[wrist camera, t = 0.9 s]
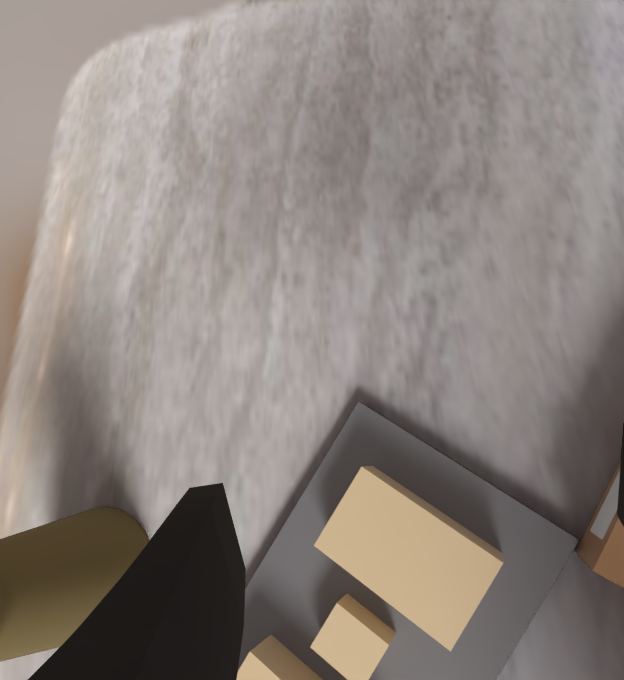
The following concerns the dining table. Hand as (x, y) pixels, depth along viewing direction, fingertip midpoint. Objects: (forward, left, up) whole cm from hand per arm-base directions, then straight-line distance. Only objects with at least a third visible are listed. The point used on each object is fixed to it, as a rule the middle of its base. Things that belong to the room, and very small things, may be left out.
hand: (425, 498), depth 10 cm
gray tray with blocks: (0, +8, -14) cm, 16 cm away
